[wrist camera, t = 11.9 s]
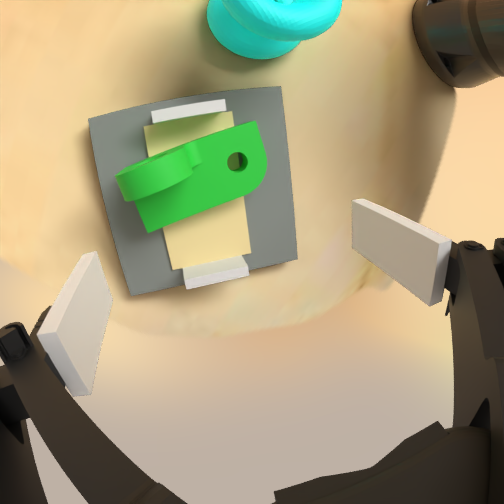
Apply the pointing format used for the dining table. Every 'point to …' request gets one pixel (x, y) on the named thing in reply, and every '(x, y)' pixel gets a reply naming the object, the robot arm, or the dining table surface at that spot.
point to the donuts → (269, 24)
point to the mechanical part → (194, 176)
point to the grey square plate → (211, 220)
